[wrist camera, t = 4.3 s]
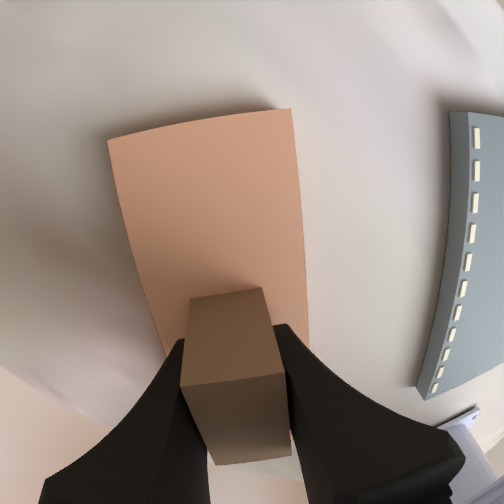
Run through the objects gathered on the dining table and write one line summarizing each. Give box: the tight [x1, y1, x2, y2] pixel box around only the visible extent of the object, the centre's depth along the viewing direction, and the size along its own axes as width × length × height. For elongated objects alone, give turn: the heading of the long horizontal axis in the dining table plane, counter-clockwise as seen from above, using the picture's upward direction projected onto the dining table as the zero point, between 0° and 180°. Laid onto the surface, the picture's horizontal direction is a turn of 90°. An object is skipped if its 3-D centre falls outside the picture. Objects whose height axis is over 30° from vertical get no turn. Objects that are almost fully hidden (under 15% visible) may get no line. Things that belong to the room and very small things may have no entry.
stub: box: [107, 108, 309, 466], centre depth 10 cm, size 15×5×5 cm, turn 7°
